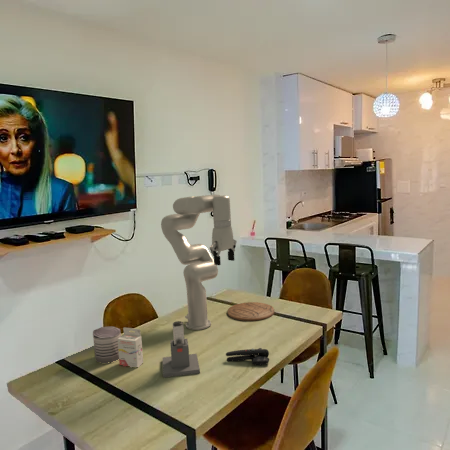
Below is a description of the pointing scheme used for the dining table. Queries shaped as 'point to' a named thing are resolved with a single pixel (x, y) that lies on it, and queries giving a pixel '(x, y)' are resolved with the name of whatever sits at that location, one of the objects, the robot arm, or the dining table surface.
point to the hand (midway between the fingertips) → (224, 262)
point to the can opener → (250, 356)
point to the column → (178, 332)
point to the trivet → (251, 311)
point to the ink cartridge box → (130, 348)
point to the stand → (180, 361)
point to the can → (106, 344)
